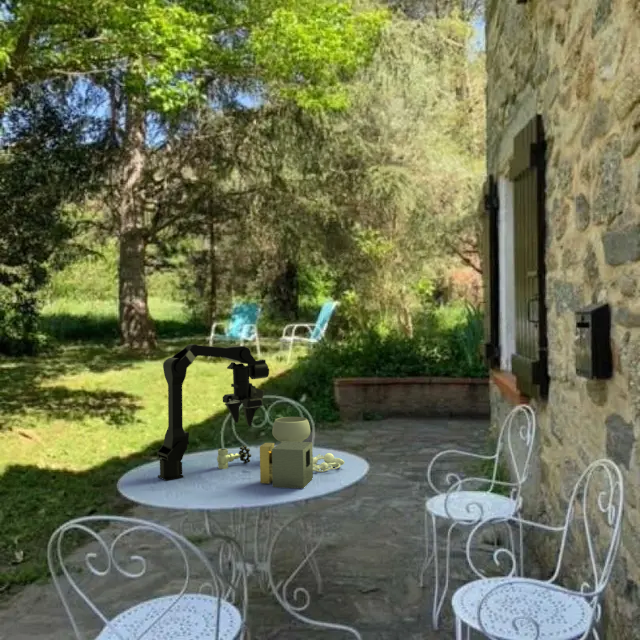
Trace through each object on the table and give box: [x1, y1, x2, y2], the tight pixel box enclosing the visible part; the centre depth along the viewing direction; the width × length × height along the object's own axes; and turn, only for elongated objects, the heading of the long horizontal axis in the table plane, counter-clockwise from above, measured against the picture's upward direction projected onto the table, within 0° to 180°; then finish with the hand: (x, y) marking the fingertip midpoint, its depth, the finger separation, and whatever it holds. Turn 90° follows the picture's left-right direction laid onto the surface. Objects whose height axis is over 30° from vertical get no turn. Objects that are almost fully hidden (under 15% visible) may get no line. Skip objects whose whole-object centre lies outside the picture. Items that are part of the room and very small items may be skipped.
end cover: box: [259, 442, 275, 484], centre depth 216 cm, size 11×6×12 cm, turn 77°
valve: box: [216, 445, 252, 470], centre depth 240 cm, size 7×7×12 cm
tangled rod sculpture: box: [313, 452, 345, 473], centre depth 232 cm, size 19×14×4 cm
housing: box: [272, 441, 314, 489], centre depth 215 cm, size 10×12×12 cm
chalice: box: [271, 416, 311, 443], centre depth 248 cm, size 14×14×15 cm
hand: (243, 424), depth 242 cm, fingers open, 9 cm apart
